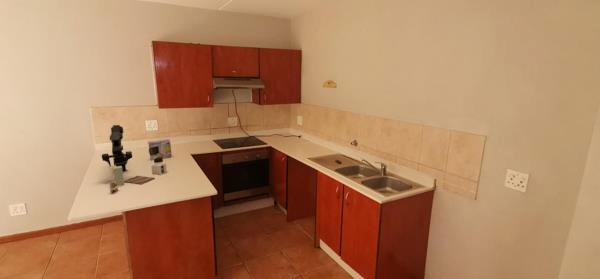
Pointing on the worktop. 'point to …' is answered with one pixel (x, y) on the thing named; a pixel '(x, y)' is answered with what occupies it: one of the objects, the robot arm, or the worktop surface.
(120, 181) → the sage block
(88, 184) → the worktop surface
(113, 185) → the architectural model
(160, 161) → the container
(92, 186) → the worktop surface
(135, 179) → the walnut board
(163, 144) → the cake pan box
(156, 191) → the worktop surface
